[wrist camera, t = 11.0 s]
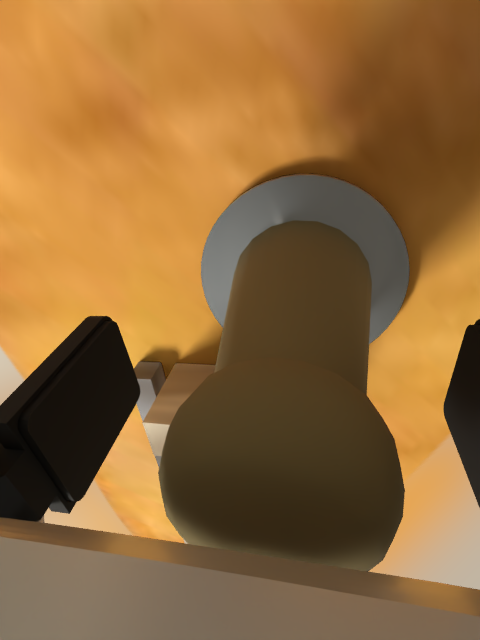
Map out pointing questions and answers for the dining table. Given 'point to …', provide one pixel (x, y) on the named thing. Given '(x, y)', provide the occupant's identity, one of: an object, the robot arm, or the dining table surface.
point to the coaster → (310, 205)
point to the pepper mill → (289, 414)
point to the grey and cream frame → (165, 396)
